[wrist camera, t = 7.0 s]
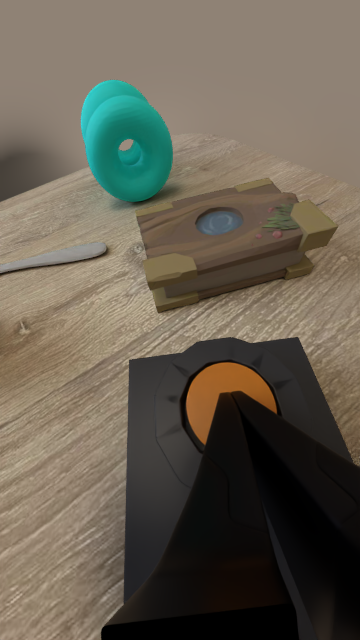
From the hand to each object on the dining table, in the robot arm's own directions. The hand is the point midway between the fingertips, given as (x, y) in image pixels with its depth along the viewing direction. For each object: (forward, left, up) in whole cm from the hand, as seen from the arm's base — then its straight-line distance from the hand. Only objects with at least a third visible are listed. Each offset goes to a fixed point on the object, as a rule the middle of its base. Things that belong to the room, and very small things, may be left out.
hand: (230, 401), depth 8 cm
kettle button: (0, 0, -3) cm, 3 cm away
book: (+14, -7, -7) cm, 17 cm away
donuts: (+32, -4, -7) cm, 33 cm away
